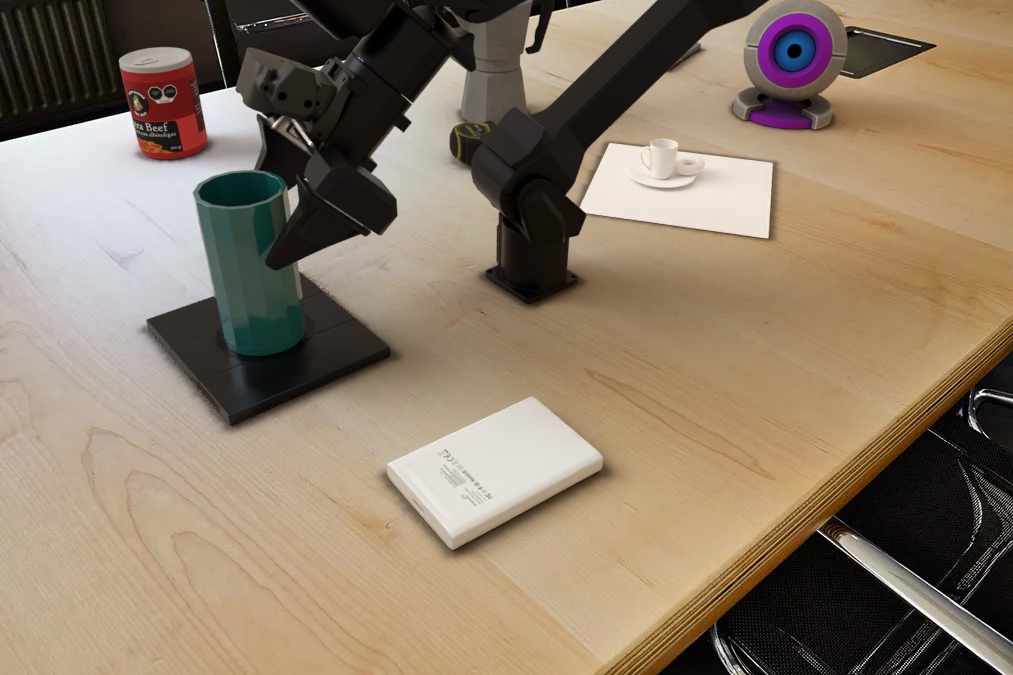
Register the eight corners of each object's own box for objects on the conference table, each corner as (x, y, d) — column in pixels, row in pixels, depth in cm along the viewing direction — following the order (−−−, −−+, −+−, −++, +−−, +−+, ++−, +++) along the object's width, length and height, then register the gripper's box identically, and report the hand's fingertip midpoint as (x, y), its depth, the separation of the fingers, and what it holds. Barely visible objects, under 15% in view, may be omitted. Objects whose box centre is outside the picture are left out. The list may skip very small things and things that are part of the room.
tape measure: (514, 167, 101) (515, 137, 99) (458, 173, 99) (457, 143, 97) (496, 145, 106) (497, 116, 104) (443, 151, 105) (442, 121, 102)
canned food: (126, 152, 103) (103, 60, 96) (176, 131, 108) (157, 42, 102) (173, 165, 100) (152, 71, 93) (222, 142, 106) (205, 52, 99)
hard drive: (602, 472, 60) (452, 553, 53) (530, 410, 65) (386, 477, 59) (604, 455, 59) (452, 535, 52) (531, 393, 64) (385, 459, 58)
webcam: (728, 122, 114) (748, 5, 105) (738, 92, 124) (758, -17, 115) (829, 136, 111) (859, 16, 102) (832, 104, 121) (859, -8, 112)
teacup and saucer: (704, 168, 102) (710, 135, 99) (698, 196, 95) (704, 162, 93) (631, 159, 104) (635, 126, 101) (620, 186, 97) (624, 152, 95)
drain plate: (391, 356, 70) (390, 346, 70) (230, 426, 63) (228, 415, 62) (296, 276, 80) (295, 267, 79) (148, 329, 73) (145, 319, 72)
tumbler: (294, 303, 74) (273, 164, 67) (315, 344, 70) (295, 199, 62) (216, 320, 72) (186, 178, 65) (233, 364, 67) (202, 215, 60)
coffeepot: (468, 135, 109) (467, -14, 98) (434, 112, 115) (429, -30, 105) (567, 115, 115) (576, -27, 105) (530, 93, 122) (535, -42, 112)
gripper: (265, -23, 65) (146, 137, 67) (335, 44, 51) (183, 242, 54) (372, 67, 72) (261, 209, 75) (459, 147, 59) (320, 317, 61)
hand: (256, 239), depth 66 cm, fingers open, 9 cm apart
